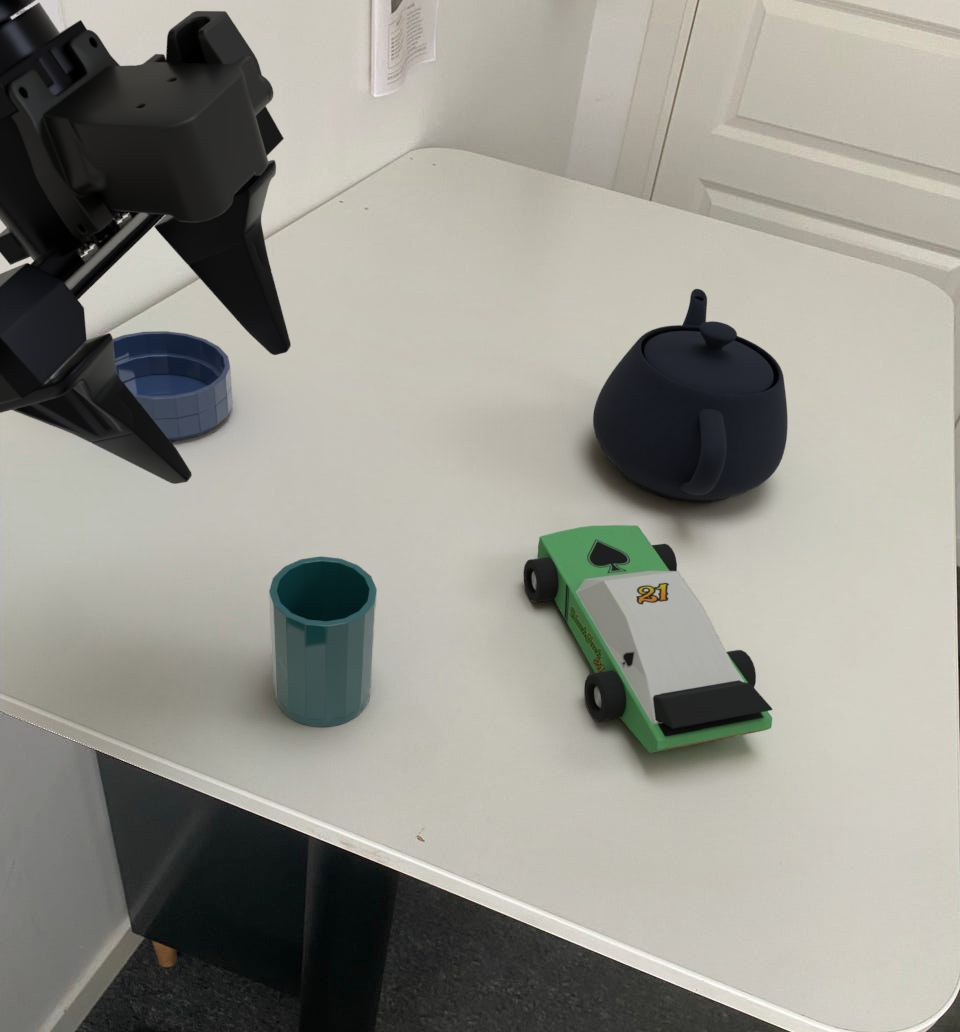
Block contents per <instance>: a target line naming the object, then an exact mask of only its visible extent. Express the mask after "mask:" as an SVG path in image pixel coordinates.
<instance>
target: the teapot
mask: <svg viewBox="0 0 960 1032" xmlns="http://www.w3.org/2000/svg"><path fill="white" fill-rule="evenodd" d="M707 308H708V296H707V294H706V293H705V291H704V290H702V289H700V288H694V289H693V290H692V291H691V293H690V297H689V304H688V308H687V312H686V315H685V318H684V320H683V323H682V324H675V325H666V326H660V327H657V328H654V329H651V330H649V331H647V332H645V333H644V334H643V335H641V336H640V337H639V338H638V339H637V340H636V341H635V342H634V344H633V345H632V346H631V347H630V349H628V350H627V352H626V353H625V355H623V357H622V358H621V359H620V361H619V362H618V363H617V364H616V366H615V367H614V368H613V370H612V371H611V373H610V375H608V377H607V379H606V381H604V384H603V386H602V387H601V390H600V391H599V394H598V396H597V399H596V402H595V405H594V409H593V415H592V422H593V430H594V435H595V438H596V440H597V443H598V445H599V447H600V448H601V450H602V451H603V453H604V455H605V456H606V457H607V458H608V460H609V461H610V462H611V463H612V464H613V465H614V466H615V467H616V469H617V470H618V471H619V473H621V474H622V475H623V476H624V477H625V478H627V479H628V480H629V481H631V482H632V483H633V484H635V485H637V486H638V487H640V488H642V489H644V490H646V491H648V492H651V493H653V494H656V495H658V496H662V497H664V498H669V499H672V500H677V501H684V502H690V503H691V502H693V503H709V502H719V501H723V500H726V499H729V498H732V497H735V496H739V495H742V494H744V493H747V492H749V491H752V490H754V489H755V488H758V487H759V486H761V485H762V484H763V483H765V482H766V481H767V480H768V479H770V477H771V476H772V475H773V474H774V473H775V472H776V471H777V469H778V467H779V465H780V464H781V462H782V459H783V457H784V454H785V450H786V445H787V439H788V424H789V422H788V403H787V393H786V385H785V378H784V373H783V370H782V368H781V366H780V364H779V362H778V361H777V360H776V359H775V358H774V356H772V354H770V353H769V352H768V351H766V350H765V349H764V348H763V347H761V346H759V345H758V344H756V343H754V342H752V341H750V340H748V339H745V338H744V337H741V336H739V335H738V333H737V331H736V329H735V328H733V327H732V326H731V325H729V324H727V323H725V322H721V321H713V320H711V321H710V320H709V321H707Z"/></svg>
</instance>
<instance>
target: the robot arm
mask: <svg viewBox="0 0 960 1032" xmlns="http://www.w3.org/2000/svg"><path fill="white" fill-rule="evenodd" d="M36 1H37V0H0V222H2V224H3V225H4V226H5V228H4V230H2V231H1V232H0V255H2V257H3V258H4V259H5V261H7V263H8V264H9V265H10V266H12V265H14V264H16V263H19V262H21V261H23V260H26V259H29V258H31V259H32V260H33V261H32V262H31V263H29V262H26V263H23V264H20V265H18V266H16V267H14V268H11V269H8V270H6V271H3V272H2V273H1V272H0V414H2V413H5V412H9V411H13V412H16V413H18V414H20V415H23V416H26V417H28V418H31V419H34V420H36V421H38V422H42V423H44V424H46V425H49V426H52V427H54V428H58V429H60V430H62V431H64V432H66V433H69V434H72V435H74V436H76V437H78V438H81V439H82V440H84V441H86V442H89V443H91V444H93V445H94V446H96V447H99V448H100V449H102V450H104V451H106V452H108V453H110V454H113V455H114V456H117V457H118V458H120V459H123V460H124V461H126V462H128V463H130V464H132V465H134V466H136V467H138V468H141V469H142V470H144V471H146V472H148V473H150V474H152V475H154V476H155V477H158V478H160V479H162V480H164V481H166V482H168V483H170V484H174V485H177V484H182V483H188V481H189V480H190V479H191V478H192V475H193V474H192V471H191V469H190V468H189V467H188V465H187V462H185V460H184V459H183V457H182V455H181V454H180V452H179V451H178V449H177V448H176V445H174V443H173V441H170V440H169V439H168V437H167V436H166V435H165V434H164V432H163V431H162V430H161V429H160V427H159V426H158V425H157V424H156V423H155V421H154V420H153V419H152V418H151V416H150V415H149V414H148V413H147V411H146V410H145V409H144V408H143V406H142V405H141V404H140V403H139V401H138V400H137V399H136V398H135V396H134V395H133V394H132V393H131V391H130V390H129V389H128V388H127V386H126V385H125V384H124V383H123V381H122V380H121V379H120V377H119V376H118V374H117V370H116V362H115V354H114V345H113V339H114V338H113V335H112V334H111V332H107V333H105V334H102V335H98V336H95V337H92V338H89V339H88V338H87V328H86V327H87V326H86V316H85V315H86V314H85V307H84V306H83V305H82V303H81V302H80V301H79V300H80V298H81V297H82V296H83V295H85V294H86V293H87V291H89V290H90V289H91V288H92V287H93V286H94V285H95V284H96V283H97V282H98V281H99V280H100V279H101V278H102V277H103V276H104V275H105V274H106V273H107V272H108V271H109V270H110V269H111V268H112V267H113V266H114V265H116V264H117V262H118V261H119V260H121V259H122V257H124V256H125V255H126V254H127V253H128V252H129V251H130V250H131V249H132V248H133V247H134V246H135V245H136V244H137V243H138V242H139V241H141V240H142V238H143V237H145V236H146V234H147V233H148V232H149V231H151V229H153V228H155V230H156V231H157V233H159V234H160V236H161V237H162V238H163V239H164V240H165V241H166V242H167V243H168V245H169V246H170V247H171V248H172V249H173V250H174V251H175V253H176V254H177V255H178V256H179V257H180V258H181V259H182V261H184V263H185V264H186V265H187V267H189V268H190V269H191V271H193V272H194V274H195V275H196V277H198V278H199V279H200V280H201V282H202V283H203V284H204V285H205V286H206V287H207V288H208V289H209V291H211V293H212V294H213V295H214V297H216V298H217V300H219V302H220V304H222V305H223V306H224V307H225V308H226V309H227V311H228V312H229V313H230V314H231V316H232V317H234V318H235V320H236V321H237V322H238V323H239V324H240V326H242V327H243V329H244V330H245V331H246V332H247V333H248V334H249V335H250V336H251V337H252V338H253V339H254V340H256V342H258V344H260V345H261V346H262V348H264V349H265V350H266V351H267V352H268V353H269V354H270V355H273V356H278V355H282V354H285V353H287V352H288V351H289V350H290V348H291V347H292V346H291V344H292V343H291V340H290V335H289V332H288V328H287V324H286V321H285V317H284V314H283V309H282V306H281V302H280V299H279V298H280V297H279V294H278V290H277V287H276V282H275V279H274V276H273V272H272V268H271V265H270V260H269V255H268V251H267V245H266V241H265V236H264V230H263V226H262V215H263V210H264V207H265V206H264V205H265V202H266V198H267V194H268V189H269V186H270V184H271V181H272V180H273V178H275V176H276V174H277V162H276V160H275V159H271V160H269V158H268V156H269V154H271V153H272V152H273V150H275V148H277V146H278V145H280V143H282V141H283V140H284V136H283V135H282V133H281V131H280V130H279V128H278V126H277V124H276V122H275V120H274V119H273V116H272V115H271V113H270V111H269V109H268V108H267V106H268V104H269V103H270V102H272V100H273V98H274V88H273V86H272V84H271V82H270V81H269V80H268V78H267V77H265V76H263V74H262V71H261V67H260V64H259V60H258V59H257V57H256V55H255V53H254V52H253V50H252V48H251V47H250V46H249V44H248V42H247V41H246V40H245V38H244V36H243V35H242V33H241V32H240V30H239V29H238V28H237V26H236V24H235V22H234V21H233V20H232V18H231V16H230V15H229V14H228V12H227V11H225V10H196V11H192V12H191V13H190V14H189V15H187V16H185V18H183V19H182V20H180V21H179V22H178V23H177V24H175V25H174V26H173V27H172V28H170V29H169V30H168V33H167V36H166V49H165V50H166V53H165V54H164V53H155V54H154V55H152V56H150V57H149V58H148V59H147V60H145V62H143V63H141V64H136V65H132V64H131V65H120V64H119V62H117V60H116V59H114V57H113V56H112V55H111V54H110V52H109V50H108V49H107V47H106V46H105V45H104V44H105V43H103V41H102V40H101V38H100V37H99V35H98V34H97V33H96V32H94V31H93V30H90V29H87V27H86V26H85V24H84V22H83V20H81V19H80V20H78V21H75V23H73V24H71V25H70V26H69V27H66V28H65V29H64V30H62V31H59V29H58V28H57V27H56V25H55V23H54V22H53V21H52V19H51V18H50V15H48V13H47V12H46V10H45V9H44V7H43V5H42V4H41V3H40V2H37V3H36V4H34V5H32V4H33V3H34V2H36ZM30 5H32V6H31V7H29V8H27V7H28V6H30ZM26 8H27V9H26ZM24 9H26V10H25V11H23V12H21V11H22V10H24ZM20 12H21V13H20ZM18 13H20V14H18ZM17 14H18V15H17ZM15 15H17V16H15ZM13 16H15V17H14V18H12V17H13ZM119 221H120V222H119ZM91 247H92V248H91Z"/></svg>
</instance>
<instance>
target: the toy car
mask: <svg viewBox="0 0 960 1032" xmlns="http://www.w3.org/2000/svg"><path fill="white" fill-rule="evenodd" d="M536 556H537V558H531V559H527V561H525V563H524V566H523V585H524V590H525V593H526V595H527V597H528V599H529V600H530V601H531V602H532V603H536V602H537V603H538V602H545V601H552V600H553V601H554V602H555V604H556V606H557V608H558V610H559V611H560V613H561V615H562V616H563V618H564V620H565V622H566V624H567V625H568V627H569V629H570V631H571V633H572V635H573V636H574V638H575V640H576V642H577V644H578V645H579V648H580V649H581V651H582V652H583V654H584V656H585V658H586V660H587V661H588V663H589V665H590V667H591V669H592V670H593V673H589V674H588V675H587V677H586V679H585V681H584V687H583V688H584V689H583V690H584V701H585V705H586V708H587V711H588V713H589V714H590V716H591V717H592V719H594V720H595V721H596V722H604V721H610V720H615V719H616V720H617V719H620V720H621V721H622V722H623V723H624V724H625V726H626V727H627V728H628V729H629V731H630V732H631V733H632V734H633V735H634V736H635V737H636V738H637V740H638V741H639V743H641V744H642V746H643V747H644V748H645V749H646V750H647V752H648V753H650V754H652V753H657V752H661V751H666V750H673V749H678V748H682V747H687V746H692V745H698V744H702V743H708V742H712V741H717V740H723V739H729V738H733V737H738V736H739V737H740V736H743V735H750V734H754V733H760V732H765V731H767V730H770V729H772V726H773V717H772V715H771V713H770V712H769V711H773V708H772V707H771V705H770V704H769V703H768V702H767V701H766V699H764V697H763V696H762V695H761V694H760V693H759V692H758V690H757V689H756V687H755V686H756V682H757V673H756V667H755V664H754V662H753V660H752V658H751V656H750V655H749V654H748V653H747V652H746V651H744V650H742V649H734V650H728V651H727V650H726V648H725V646H724V645H723V642H722V640H721V639H720V637H719V635H718V633H717V631H716V629H715V627H714V625H713V623H712V621H711V619H710V617H709V615H708V613H707V612H706V609H705V607H704V606H703V604H702V603H701V601H700V600H699V598H698V597H697V596H696V594H695V593H694V592H693V590H692V588H691V587H690V586H689V584H688V583H687V582H686V579H684V577H683V576H682V574H681V573H680V571H679V570H678V564H677V563H678V562H677V557H676V554H675V552H674V550H673V548H672V547H671V546H670V545H669V544H667V543H660V544H659V543H658V544H651V542H650V541H649V539H648V538H647V536H646V535H645V534H644V533H643V531H642V529H641V528H640V526H639V525H620V524H617V525H616V524H614V525H613V524H611V525H610V524H609V525H588V526H579V527H574V528H569V529H564V530H560V531H557V532H551V533H548V534H544V535H540V536H539V539H538V546H537V555H536Z"/></svg>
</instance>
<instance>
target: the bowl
mask: <svg viewBox="0 0 960 1032" xmlns="http://www.w3.org/2000/svg"><path fill="white" fill-rule="evenodd" d="M113 345H114V354H115V362H116V370H117V374H118V376H119V377H120V379H121V380H122V381H123V383H124V384H125V385H126V386H127V388H128V389H129V390H130V391H131V393H132V394H133V395H134V396H135V398H136V399H137V400H138V401H139V403H140V404H141V405H142V406H143V408H144V409H145V410H146V411H147V413H148V414H149V415H150V416H151V418H152V419H153V420H154V421H155V423H156V424H157V425H158V426H159V427H160V429H161V430H162V431H163V432H164V434H165V435H166V436H167V437H168V439H169V440H170V441H171V442H175V441H181V440H182V441H183V440H188V439H191V438H194V437H198V436H201V435H203V434H206V433H207V432H210V431H211V430H213V429H214V428H216V427H217V426H218V425H220V423H221V422H223V421H224V420H225V419H226V418H227V417H228V416H229V413H230V411H231V409H232V407H233V404H234V402H233V386H232V372H231V363H230V358H229V356H228V355H227V353H226V352H225V351H224V350H223V349H222V347H220V346H219V345H217V344H215V343H213V342H211V341H210V340H208V339H205V338H204V337H199V336H196V335H192V334H189V333H184V332H176V331H168V330H167V331H166V330H163V331H162V330H160V331H159V330H158V331H155V330H154V331H141V332H133V333H128V334H122V335H120V336H117V337H115V338H113Z"/></svg>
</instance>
